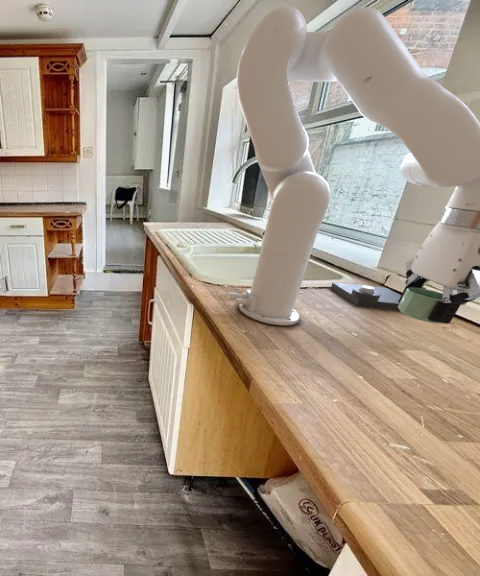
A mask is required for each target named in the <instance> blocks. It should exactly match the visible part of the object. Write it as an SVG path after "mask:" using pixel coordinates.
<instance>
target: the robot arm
mask: <svg viewBox="0 0 480 576" xmlns="http://www.w3.org/2000/svg"><path fill="white" fill-rule="evenodd" d="M236 70H237V71H236V81H235V82H236V95H237V100H238V104H239V106H240V110H241V113H242V116H243V119H244V123H245V125H246V129H247V131H248V134H249V136H250V139H251V141H252V142H251V143H252V145H253V147H254V148H253V149H254V154H255V159H256V161H257V163H258V166H259V169H260V172H261V174H262V177H263V179H264V182H265V184H266V186H267V189H268V192H269V195H270V197H271V199H272V201H271V206H270V210H269V214H268V218H267V222H266V225H265V229H264V234H263V238H262V241H261V246H260V251H259V255H258V259H257V263H256V267H255V271H254V275H253V279H252V283H251V287H250V289H246V290H245V292H241V293H236V292H227V296H226V301H233V302H234V304H235V305H238V308H239V311H240V312H241V313H242V314H244V315H245V316H247V317H249V318H251V319H252V320H256V321H258V322H261V323H265V324H269V325H275V326H292V325H295V324H297V323H298V322H299V320H300V314H299V313H298V312H297V311H296V309H295V305H296V302H297V299H298V296H299V293H300V290H301V286H302V283H303V280H304V277H305V274H306V271H307V267H308V263H309V261H310V257H311V255H312V251H313V248H314V245H315V241H316V238H317V235H318V232H319V230H320V228H321V225H322V222H323V220H324V218H325V215H326V213H327V210H328V209H329V208H328V207H329V204H330V199H331V190H330V186H329V183H328V182H327V181H326V179H325V178H324V177H323V176H321V175H320V174H318V173H317V172H316V169H315V166H314V163H313V160H312V159H311V158H312V157H311V155H310V152H309V150H308V148H309V135H308V133H307V131H306V129H305V127H304V126H303V123H302V121H301V118H300V116H299V113H298V111H297V108H296V106H295V102H294V99H293V96H292V92H291V90H290V86H289V82H300V83H301V82H305V83H306V82H307V83H325V82H326V83H328V82H338V83H339V84H340V86H341V87H342V89H343V90H344V91H345V93H346V95H348V97H349V99H350V100H351V101H352V103H353V105H354V106H355V107H356V109H357V110H358V112H359V113H360V115H361V116H362V117H363V118H364V119H366V120H367V121H369V122H371V123H373V124H376V125H379V126H381V127H382V128H385V129H387V130H388V131H389V132H391V133H392V134H393V135H395V136H396V137H397V138H398V139H399V140H400V141H401V143H403V145H404V146H405V147H406V149H407V150H408V151H409V153H408V154H407V155H406V156H405V157H404V159H403V161H402V163H401V166H400V172H401V175H402V177H403V178H404V180H406V181H407V182H408V183H410V184H413V185H416V186H421V187H437V188H438V187H439V188H455V189H454V190H453V191H452V194H451V196H450V198H449V200H448V202H447V204H446V206H445V208H444V209H443V212H442V214H441V215H440V217H439V220H438V222H437V224H436V225H435V226H434V227H433V228H432V229H431V230H430V233H429V234H428V236H426V238H425V240H424V242H423V243H422V245H421V246H420V248H419V249H418V251H417V253H416V255H415V257H414V258H412V259H410V260H408V261H406V262H405V270H406V272H405V276H406V279H405V281H404V284H405V287H404V289H403V291H402V293H401V294H400V295H401V297H400V299H399V301H398V303H400V301H401V300H402V298H403V296H404V294H405V292H406V290H407V288H410V287H415V288H422V289H427V288H426V287H425V286H426V285H427V284H428V283H429V282H432V283H435V284H437V285H439V286H442V293H443V299H442V300H443V301H438V302H437V303H436V305H435V307H434V308H433V310H432V312H431V314H430V316H429V317H428V320H430V321H432V322H439V323H438V324H446V325H447V324H450V323H451V322H452V320H453V318H454V317H455V315H456V313H457V312H458V310H459V308H460V307H461V306H465V305H466V304H467V303H470V302H473V301H475V300H476V299H479V298H480V121H479V120H478V118H477V117H476V116H475V114H474V113H473V112H472V111H471V109H470V108H469V107H468V106H467V105H466V104H465V103H464V102H463V100H461V99H460V98H459V97H458V96H456V95H455V94H454V93H452V92H451V91H449V90H448V89H447V88H445V87H444V86H443V85H442V84H440V83H439V82H437V81H436V80H435V79H433V78H431V77H430V76H428V75H427V74H426V73H425V71H423V69H422V68H421V67H420V65H419V64H418V62H417V61H416V59H415V58H414V56H413V55H412V54H411V52H410V50H409V49H408V48H407V46H406V45H405V44H404V42H403V41H402V39H401V38H400V37H399V35H398V34H397V32H396V31H395V30H394V28H393V27H392V25H391V24H390V23H389V21H388V20H387V18H386V17H385V16H384V15H383V13H382V12H381V11H379V10H378V9H376V8H375V7H373V6H372V7H371V6H362V7H359V8H356V9H354V10H352V11H350V12H348V13H346V15H344V16H342V17H341V18H340V19H339V20H338V21H337V22H336V23H335V24H334V25H333V26H332V27H331V29H330V30H326V31H308V28H307V21H306V19H305V17H304V15H303V13H302V11H300V10H299V9H298V8H296V7H295V6H291V5H283V6H279V7H276V8H274V9H272V10H271V11H269V12H268V13H267V14H266V15H265V16H264V17H263V18H262V19H261V20H260V21H259V23H258V24H257V25H256V26H255V27H254V29H253V30H252V32H251V33H250V35H249V36H248V39H247V40H246V41H245V44H244V46H243V49H242V51H241V53H240V57H239V61H238V65H237V69H236ZM454 291H456V293H455V294H454ZM432 322H431V323H432Z"/></svg>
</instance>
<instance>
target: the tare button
mask: <svg viewBox="0 0 480 576" xmlns="http://www.w3.org/2000/svg"><path fill="white" fill-rule="evenodd" d="M370 286H371V285H363V286H362V287H361V289H360V291H361V292H364V293H368V294H373V292H374V289H375V288H373V287H370Z"/></svg>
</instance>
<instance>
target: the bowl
mask: <svg viewBox="0 0 480 576" xmlns="http://www.w3.org/2000/svg"><path fill="white" fill-rule="evenodd" d="M442 299H443V292H440V291H435V290H432V289H427V288H426V289H422V288H415V287H410V288H407V290H406V292H405V294H404V296H403V298H402V300H401V301H400V303H399V305H398V308H399V309H400V310H399V311H400V312H401V313H402V314H404V315H405V316H408V317H410V318H413V319H416V320H419V321H421V322H427V323H432V324H440V323H439V322H432V321H430V320H428V317H429V316H430V314H431V312H432V310H433V308H434V307H435V305H436V303H437V302H438V301H443V300H442Z"/></svg>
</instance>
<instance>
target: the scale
mask: <svg viewBox="0 0 480 576" xmlns="http://www.w3.org/2000/svg"><path fill="white" fill-rule="evenodd" d="M362 286H363V285H362V284H353V283H352V284H351V283H342V282H332V283H331V285H330V289H331V291H333V292H335V293H337V294H338V295H340V297H343V298H344V299H346V300H347V301H349V302H350V303H351V304H353V305H354V306H356V307H362V308H372V309H381V310H390V311H400V309H399V308H398V305H399V303H398V301H399V299H400V297H401V295H402V294H400V293H398V292H395V291H394V290H391V289H390V288H387V287H385V286H376V285H375V286H373V285H369V286H370V287H373V288H375V289H374V292H373V294H368V293H364V292H361V291H360V289H361V287H362Z"/></svg>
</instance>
